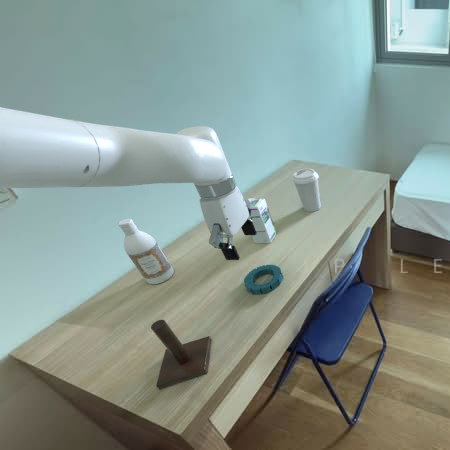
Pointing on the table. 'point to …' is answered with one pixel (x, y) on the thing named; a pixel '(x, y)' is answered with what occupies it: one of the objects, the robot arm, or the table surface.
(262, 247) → the table surface
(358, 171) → the table surface
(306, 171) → the coffee cup
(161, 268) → the bath foam
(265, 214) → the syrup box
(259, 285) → the ring
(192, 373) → the stand
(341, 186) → the table surface
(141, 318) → the table surface
